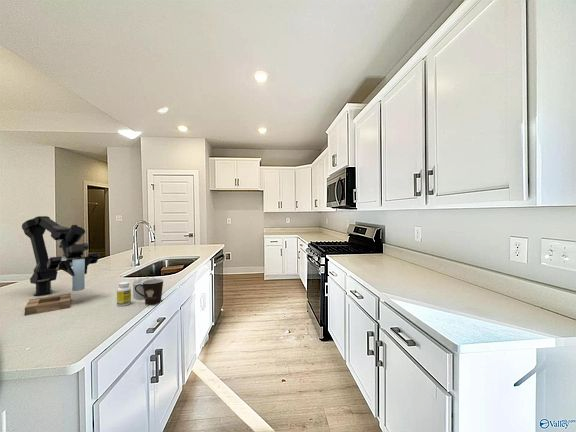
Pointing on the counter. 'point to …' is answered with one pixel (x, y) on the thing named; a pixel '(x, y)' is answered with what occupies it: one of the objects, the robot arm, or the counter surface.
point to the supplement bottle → (123, 294)
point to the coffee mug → (152, 291)
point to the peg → (78, 274)
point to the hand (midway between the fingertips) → (79, 274)
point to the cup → (139, 288)
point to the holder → (48, 304)
